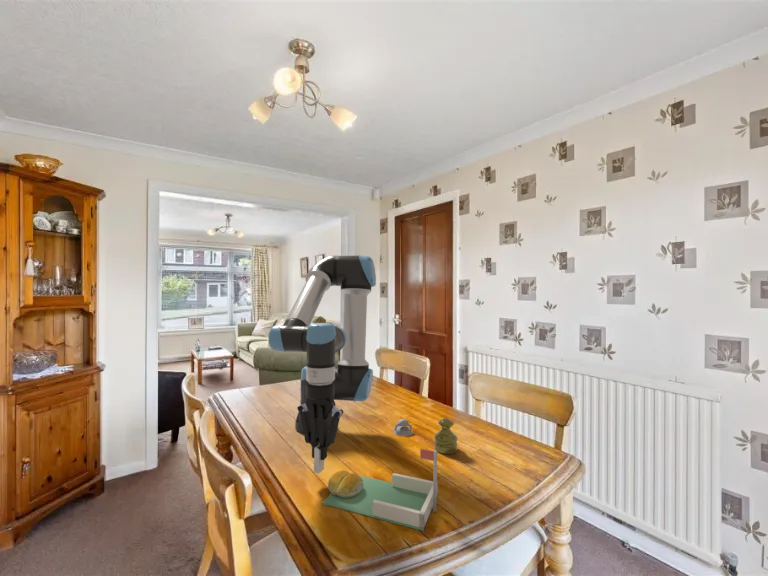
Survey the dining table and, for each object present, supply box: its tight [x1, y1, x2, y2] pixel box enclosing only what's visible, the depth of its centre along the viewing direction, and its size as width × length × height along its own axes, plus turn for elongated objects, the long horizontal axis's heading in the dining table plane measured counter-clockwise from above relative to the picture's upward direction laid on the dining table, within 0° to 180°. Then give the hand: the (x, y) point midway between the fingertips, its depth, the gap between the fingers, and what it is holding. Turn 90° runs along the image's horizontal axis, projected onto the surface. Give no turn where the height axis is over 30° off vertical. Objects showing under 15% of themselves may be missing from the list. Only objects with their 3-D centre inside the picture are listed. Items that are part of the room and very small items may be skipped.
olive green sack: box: [433, 417, 458, 455], centre depth 117 cm, size 7×7×10 cm
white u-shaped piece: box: [372, 448, 439, 529], centre depth 86 cm, size 13×14×14 cm
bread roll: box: [327, 469, 364, 498], centre depth 92 cm, size 8×9×4 cm
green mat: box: [321, 475, 439, 531], centre depth 89 cm, size 25×15×1 cm, turn 69°
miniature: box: [392, 418, 414, 437], centre depth 131 cm, size 8×8×5 cm
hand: (319, 470), depth 95 cm, fingers closed
